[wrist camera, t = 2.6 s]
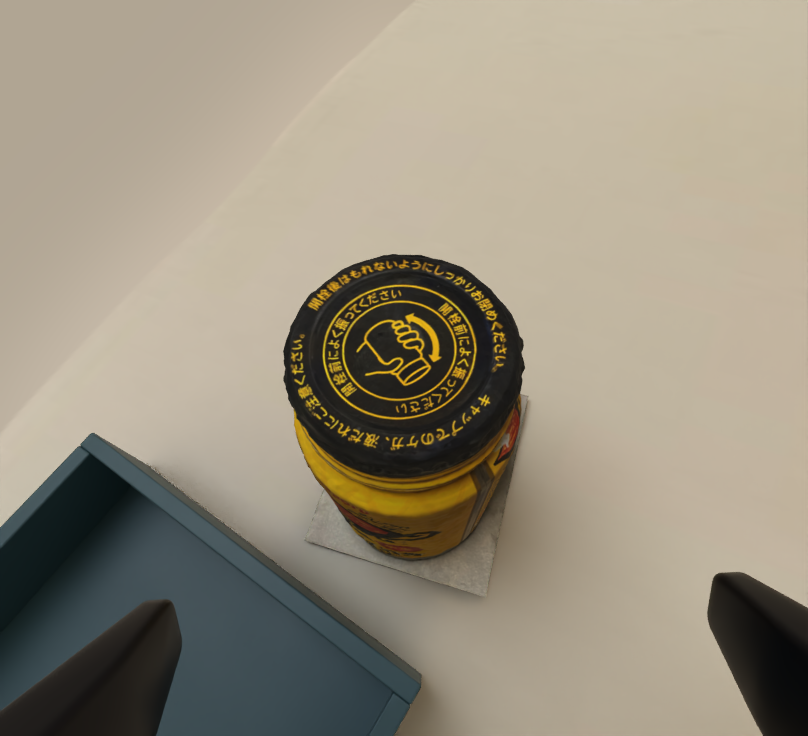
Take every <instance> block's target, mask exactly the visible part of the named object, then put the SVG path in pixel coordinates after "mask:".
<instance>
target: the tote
mask: <svg viewBox="0 0 808 736" xmlns="http://www.w3.org/2000/svg"><path fill="white" fill-rule="evenodd" d="M161 599H168V600H171V601H172V603H173V604H174V607H175V611H176V615H177V619H178V623H179V627H180V632H181V636H182V648H181V653H180V657H179V660H178V664H177V667H176V671H175V674H174V677H173V681H172V684H171V688H170V691H169V694H168V698H167V701H166V704H165V708H164V711H163V715H162V718H161V721H160V725H159V728H158V732H157V735H156V736H394V735H395V733H396V731H397V729H398V728H399V726H400V724H401V722H402V720H403V719H404V717H405V715H406V713H407V711H408V710H409V708H410V704H412V702H413V701H414V699H415V697H416V695H417V693H418V692H419V690H420V688H421V674H420V673H419V672H418V671H416V670H415V669H414V668H412V667H411V666H410V665H409V664H407V663H406V662H405V661H403V660H402V659H401V658H399V657H398V656H397V655H395V654H394V653H393V652H391V651H390V650H389V649H388V648H386V647H385V646H384V645H382V644H381V643H380V642H378V641H377V640H376V639H374V638H373V637H372V636H370V635H369V634H368V633H367V632H365V631H364V630H363V629H361V628H360V627H359V626H357V625H356V624H355V623H353V622H352V621H351V620H349V619H348V618H347V617H346V616H344V615H343V614H342V613H340V612H339V611H338V610H336V609H335V608H334V607H332V606H331V605H330V604H328V603H327V602H326V601H325V600H323V599H322V598H321V597H319V596H318V595H317V594H315V593H314V592H313V591H311V590H310V589H309V588H307V587H306V586H305V585H304V584H302V583H301V582H300V581H298V580H297V579H296V578H294V577H293V576H292V575H290V574H289V573H288V572H286V571H285V570H284V569H283V568H281V567H280V566H279V565H277V564H276V563H275V562H273V561H272V560H271V559H269V558H268V557H267V556H265V555H264V554H263V553H261V552H260V551H259V550H258V549H256V548H255V547H254V546H252V545H251V544H250V543H248V542H247V541H246V540H244V539H243V538H242V537H240V536H239V535H238V534H237V533H235V532H234V531H233V530H231V529H230V528H229V527H227V526H226V525H225V524H223V523H222V522H221V521H219V520H218V519H217V518H216V517H214V516H213V515H212V514H210V513H209V512H208V511H206V510H205V509H204V508H202V507H201V506H200V505H198V504H197V503H196V502H195V501H193V500H192V499H191V498H189V497H188V496H187V495H185V494H184V493H183V492H181V491H180V490H179V489H177V488H176V487H175V486H174V485H172V484H171V483H170V482H168V481H167V480H166V479H164V478H163V477H162V476H160V475H159V474H158V473H156V472H155V471H154V470H153V469H151V468H150V467H149V466H147V465H146V464H145V463H143V462H141V461H140V460H138V459H136V458H135V457H133V456H131V455H130V454H128V453H126V452H125V451H123V450H121V449H120V448H118V447H116V446H115V445H113V444H111V443H110V442H108V441H106V440H105V439H103V438H101V437H100V436H98V435H96V434H95V433H91V434H90V435H89V436H88V437H87V438H86V439H85V440H84V441H83V442H82V443H81V446H79V447H77V448H76V449H75V450H74V451H73V453H72V454H71V455H70V456H69V457H68V458H67V459H66V460H65V461H64V462H63V463H62V464H61V465H60V466H59V467H58V468H57V469H56V470H55V471H54V472H53V473H52V474H51V475H50V476H49V477H48V479H47V480H46V481H45V482H44V483H43V484H42V485H41V486H40V487H39V488H38V489H37V490H36V491H35V492H34V493H33V494H32V495H31V496H30V497H29V498H28V499H27V500H26V501H25V502H24V503H23V505H22V506H21V507H20V508H19V509H18V510H17V511H16V512H15V513H14V514H13V515H12V516H11V517H10V518H9V519H8V520H7V521H6V522H5V523H4V524H3V525H2V526H1V527H0V711H1V710H2V709H3V708H5V707H6V706H7V705H9V704H10V703H11V702H13V701H14V700H15V699H17V698H18V697H19V696H21V695H22V694H23V693H24V692H26V691H27V690H28V689H30V688H31V687H32V686H34V685H35V684H36V683H38V682H39V681H40V680H42V679H43V678H44V677H45V676H47V675H48V674H49V673H51V672H52V671H53V670H55V669H56V668H57V667H59V666H60V665H61V664H63V663H64V662H65V661H66V660H68V659H69V658H70V657H72V656H73V655H74V654H76V653H77V652H78V651H80V650H81V649H82V648H84V647H85V646H86V645H88V644H89V643H90V642H91V641H93V640H94V639H95V638H97V637H98V636H99V635H101V634H102V633H103V632H105V631H106V630H107V629H109V628H110V627H111V626H112V625H114V624H115V623H116V622H118V621H119V620H120V619H122V618H123V617H124V616H126V615H127V614H128V613H130V612H131V611H132V610H133V609H135V608H136V607H137V606H139V605H140V604H142V603H143V602H145V601H148V600H161Z"/></svg>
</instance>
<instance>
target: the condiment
mask: <svg viewBox="0 0 808 736" xmlns="http://www.w3.org/2000/svg"><path fill="white" fill-rule="evenodd" d="M523 346H524V345H523V340H522V338H521V337H520V336H519V332H518V328H517V326H516V323H515V321H514V319H513V316H512V314H511V313H510V312H509V310H508V309H507V308H506V306H505V305H504V304H503V303H502V302H501V301H500V300H499V299H498V298H497V297H496V295H495V294H494V293H493V292H492V290H491V289H490V288H488V287H487V286H486V285H485V284H483V283H482V282H481V281H480V280H478V279H477V278H476V277H475V276H474V275H473V274H471V273H470V272H469V271H467V270H466V269H464V268H463V267H460V266H457V265H454V264H451V263H448V262H446V261H443V260H438V259H432V258H429V257H425V256H422V255H396V254H392V255H383V256H380V257H377V258H374V259H370V260H366V261H363V262H360V263H357V264H354V265H351V266H349V267H347V268H345V269H343V270H341V271H340V272H338V273H337V274H336V275H335V276H333V277H332V278H331V279H329V280H328V281H326V282H325V283H324V284H323V285H322V286H321V287H319V288H318V289H317V290H316V291H314V292H313V293H311V294H310V295H309V296H308V298H307V299H306V301H305V302H304V304H303V305H302V307H301V308H300V310H299V312H298V314H297V316H296V318H295V320H294V322H293V323H292V325H291V327H290V332H289V335H288V337H287V340H286V343H285V347H284V351H283V352H284V365H285V376H284V382H285V385H286V390H287V393H288V400H289V401H290V404H291V406H292V407H293V408H294V426H295V430H296V435H297V439H298V442H299V445H300V448H301V450H302V452H303V454H304V458H305V460H306V462H307V465H308V467H309V468H310V469H311V471H312V473H313V475H314V476H315V478H316V480H317V481H318V482H319V484H320V485H321V486H322V487H323V488H324V490H323V493H322V496H321V498H320V501H319V503H318V506H317V508H316V512H315V515H314V517H313V520H312V523H311V525H310V528H309V530H308V533H307V535H306V537H305V541H308V542H312V543H315V544H318V545H321V546H324V547H327V548H331V549H333V550H336V551H340V552H343V553H346V554H349V555H352V556H355V557H358V558H362V559H365V560H368V561H371V562H374V563H377V564H380V565H383V566H387V567H390V568H393V569H396V570H399V571H403V572H406V573H409V574H412V575H415V576H418V577H422V578H425V579H428V580H431V581H435V582H437V583H440V584H445V585H448V586H451V587H454V588H457V589H460V590H463V591H467V592H470V593H473V594H476V595H479V596H482V597H486V593H487V588H488V583H489V578H490V573H491V569H492V564H493V559H494V554H495V549H496V545H497V540H498V536H499V530H500V526H501V521H502V517H503V512H504V507H505V502H506V498H507V493H508V489H509V484H510V479H511V475H512V471H513V465H514V461H515V456H516V452H517V446H518V442H519V438H520V432H521V428H522V423H523V419H524V414H525V409H526V405H527V400H528V396H526V395H521V394H520V391H521V385H522V377H521V376H522V373H523V371H524V369H525V365H524V361H523V357H522V353H521V352H522V350H523Z"/></svg>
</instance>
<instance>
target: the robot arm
mask: <svg viewBox="0 0 808 736" xmlns="http://www.w3.org/2000/svg"><path fill="white" fill-rule="evenodd" d="M707 615H708V622H709V625H710V628H711V631H712V633H713V635H714V637H715V639H716V641H717V643H718V645H719V647H720V649H721V651H722V654H723V656H724V658H725V660H726V662H727V664H728V666H729V668H730V670H731V672H732V675H733V677H734V679H735V681H736V683H737V685H738V687H739V689H740V691H741V693H742V695H743V698H744V700H745V702H746V704H747V706H748V708H749V710H750V712H751V714H752V716H753V718H754V720H755V722H756V724H757V726H758V727H759V729H760V731H761V733H762V734H763V736H808V608H807V607H805V606H803V605H801V604H800V603H798V602H796V601H794V600H792V599H790V598H789V597H787V596H785V595H783V594H781V593H780V592H778V591H776V590H774V589H772V588H770V587H769V586H767V585H765V584H763V583H761V582H760V581H758V580H756V579H754V578H752V577H751V576H749V575H747V574H745V573H742V572H728V573H718V574H716V575H715V576H714V578H713V581H712V587H711V593H710V599H709V605H708V612H707ZM181 648H182V636H181V632H180V627H179V623H178V619H177V615H176V611H175V607H174V604H173V603H172V601H171V600H168V599H161V600H148V601H145V602H143V603H142V604H140V605H139V606H137V607H136V608H135V609H133V610H132V611H131V612H130V613H128V614H127V615H126V616H124V617H123V618H122V619H120V620H119V621H118V622H116V623H115V624H114V625H112V626H111V627H110V628H109V629H107V630H106V631H105V632H103V633H102V634H101V635H99V636H98V637H97V638H95V639H94V640H93V641H91V642H90V643H89V644H88V645H86V646H85V647H84V648H82V649H81V650H80V651H78V652H77V653H76V654H74V655H73V656H72V657H70V658H69V659H68V660H66V661H65V662H64V663H63V664H61V665H60V666H59V667H57V668H56V669H55V670H53V671H52V672H51V673H49V674H48V675H47V676H45V677H44V678H43V679H42V680H40V681H39V682H38V683H36V684H35V685H34V686H32V687H31V688H30V689H28V690H27V691H26V692H24V693H23V694H22V695H21V696H19V697H18V698H17V699H15V700H14V701H13V702H11V703H10V704H9V705H7V706H6V707H5V708H3V709H2V710H1V711H0V736H156V735H157V732H158V728H159V725H160V721H161V718H162V715H163V711H164V708H165V704H166V701H167V698H168V694H169V691H170V688H171V684H172V681H173V677H174V674H175V671H176V667H177V664H178V660H179V657H180V653H181Z"/></svg>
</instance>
